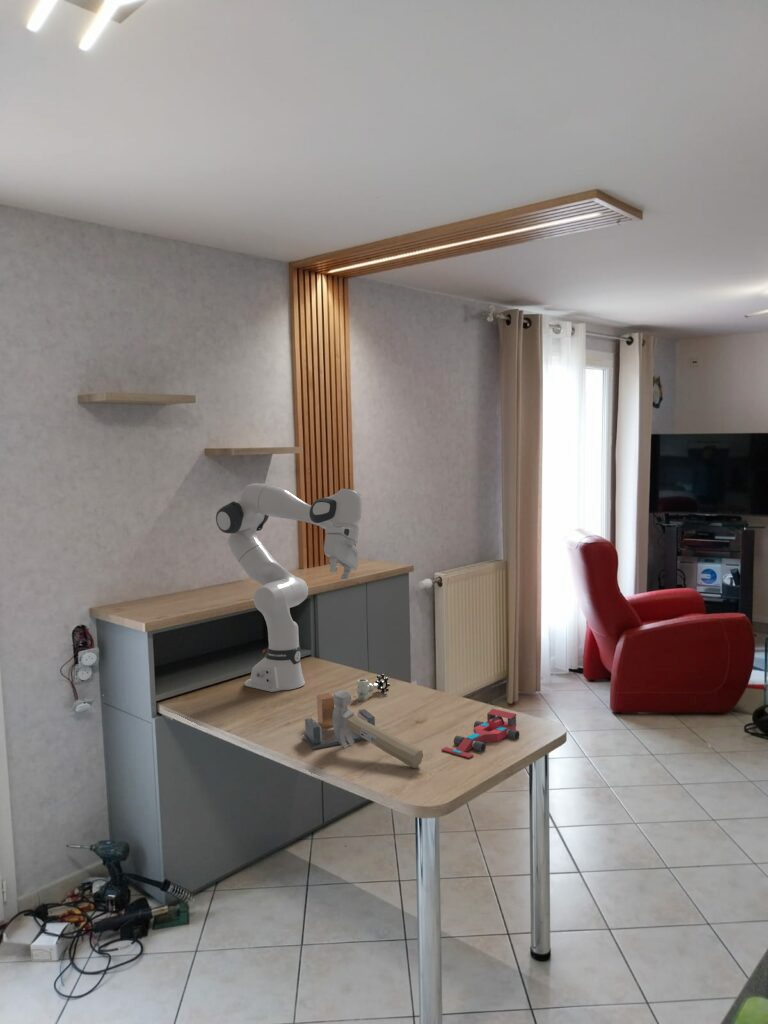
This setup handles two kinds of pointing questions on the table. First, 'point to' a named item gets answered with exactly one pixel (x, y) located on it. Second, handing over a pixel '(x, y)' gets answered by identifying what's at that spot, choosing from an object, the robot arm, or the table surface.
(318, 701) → the wooden rectangular block
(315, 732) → the vise jaws
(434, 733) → the table surface
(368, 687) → the valve
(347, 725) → the hammer
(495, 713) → the race car
